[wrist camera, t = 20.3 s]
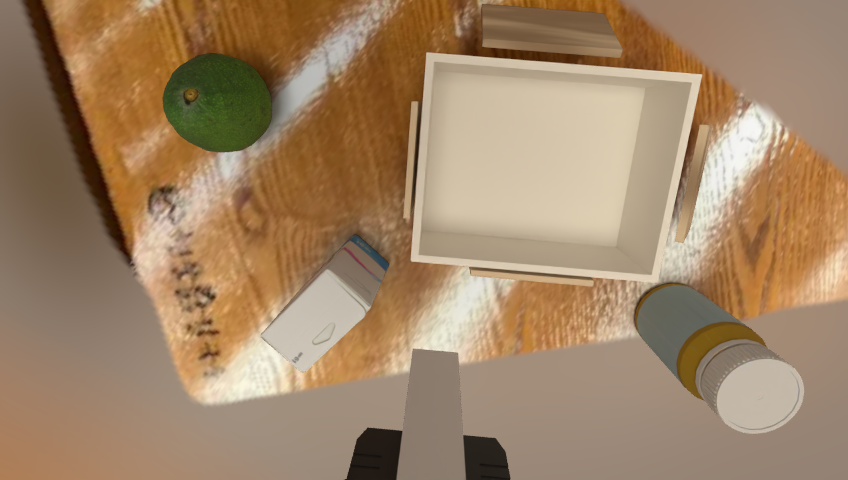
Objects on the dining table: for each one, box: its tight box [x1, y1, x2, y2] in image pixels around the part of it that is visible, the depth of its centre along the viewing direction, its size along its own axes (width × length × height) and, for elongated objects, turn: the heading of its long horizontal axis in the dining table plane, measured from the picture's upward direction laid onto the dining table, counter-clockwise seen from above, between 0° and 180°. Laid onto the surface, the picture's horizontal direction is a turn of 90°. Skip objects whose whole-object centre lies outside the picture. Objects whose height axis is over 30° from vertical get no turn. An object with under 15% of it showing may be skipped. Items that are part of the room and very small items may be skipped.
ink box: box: [260, 235, 389, 372], centre depth 44 cm, size 9×5×12 cm, turn 136°
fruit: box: [163, 53, 272, 152], centre depth 40 cm, size 8×8×12 cm
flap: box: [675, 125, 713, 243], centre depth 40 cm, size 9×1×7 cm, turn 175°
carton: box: [403, 52, 702, 286], centre depth 42 cm, size 17×21×9 cm
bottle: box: [635, 283, 804, 434], centre depth 42 cm, size 7×7×15 cm
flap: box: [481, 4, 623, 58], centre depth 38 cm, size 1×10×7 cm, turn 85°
